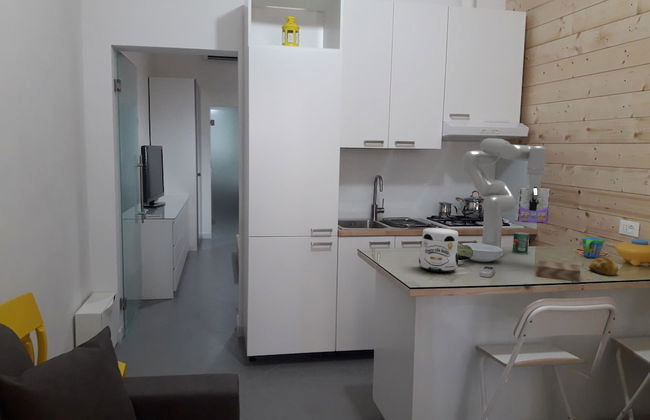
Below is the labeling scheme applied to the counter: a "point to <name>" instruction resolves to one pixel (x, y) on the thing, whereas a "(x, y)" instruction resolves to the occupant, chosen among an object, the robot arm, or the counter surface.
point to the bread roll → (603, 266)
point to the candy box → (524, 202)
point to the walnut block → (558, 270)
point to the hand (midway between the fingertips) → (531, 209)
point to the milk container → (439, 250)
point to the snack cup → (592, 247)
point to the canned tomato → (520, 243)
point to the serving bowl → (484, 252)
